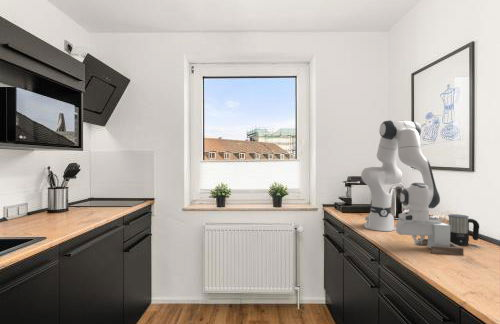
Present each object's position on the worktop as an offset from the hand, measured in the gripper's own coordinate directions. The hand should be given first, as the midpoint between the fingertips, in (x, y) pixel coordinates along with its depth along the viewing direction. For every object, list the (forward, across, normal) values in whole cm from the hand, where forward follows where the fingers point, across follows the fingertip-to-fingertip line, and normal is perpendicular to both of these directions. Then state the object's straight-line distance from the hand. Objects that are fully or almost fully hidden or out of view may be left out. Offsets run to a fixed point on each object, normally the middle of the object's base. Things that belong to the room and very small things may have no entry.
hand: (418, 244), depth 154 cm
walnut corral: (+2, -10, 0) cm, 10 cm away
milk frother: (+2, -28, -17) cm, 33 cm away
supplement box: (+2, -10, 0) cm, 10 cm away
